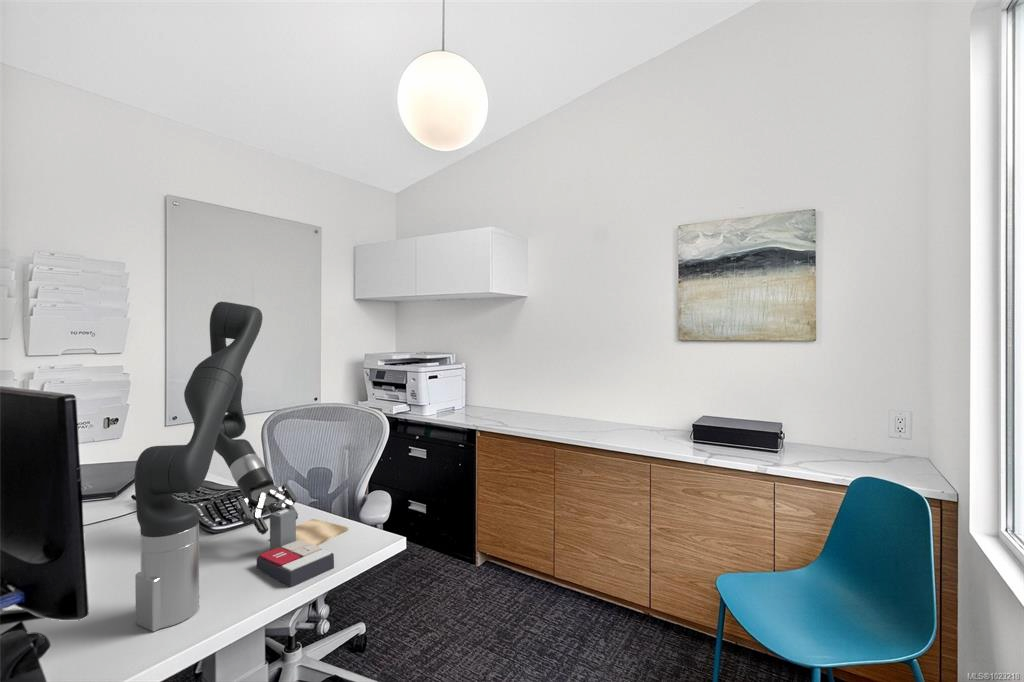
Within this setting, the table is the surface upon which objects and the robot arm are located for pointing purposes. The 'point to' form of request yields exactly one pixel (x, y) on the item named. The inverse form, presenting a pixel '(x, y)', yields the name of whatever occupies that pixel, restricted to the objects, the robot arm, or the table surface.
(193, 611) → the robot arm
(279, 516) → the block
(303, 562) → the red-tabbed grey slab
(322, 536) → the cork coaster
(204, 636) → the table surface
